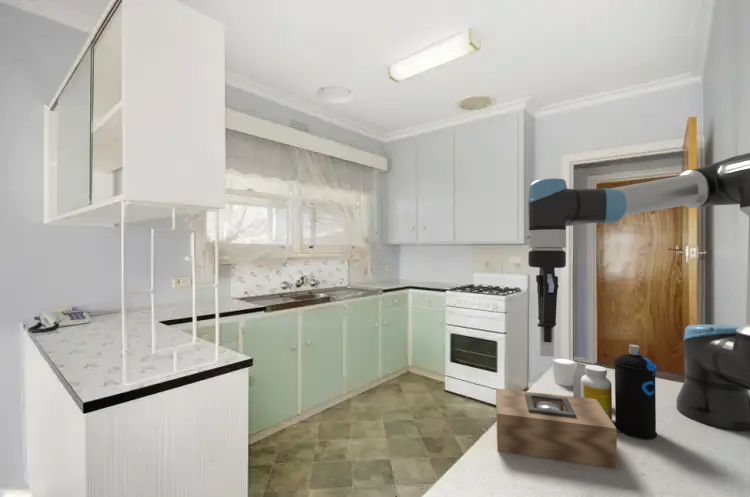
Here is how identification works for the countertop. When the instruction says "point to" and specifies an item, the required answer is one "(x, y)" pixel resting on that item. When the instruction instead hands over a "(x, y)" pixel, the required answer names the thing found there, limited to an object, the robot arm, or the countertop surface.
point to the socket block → (555, 428)
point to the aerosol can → (635, 395)
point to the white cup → (563, 371)
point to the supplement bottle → (597, 387)
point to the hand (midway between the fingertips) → (546, 355)
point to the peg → (548, 405)
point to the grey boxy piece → (578, 379)
